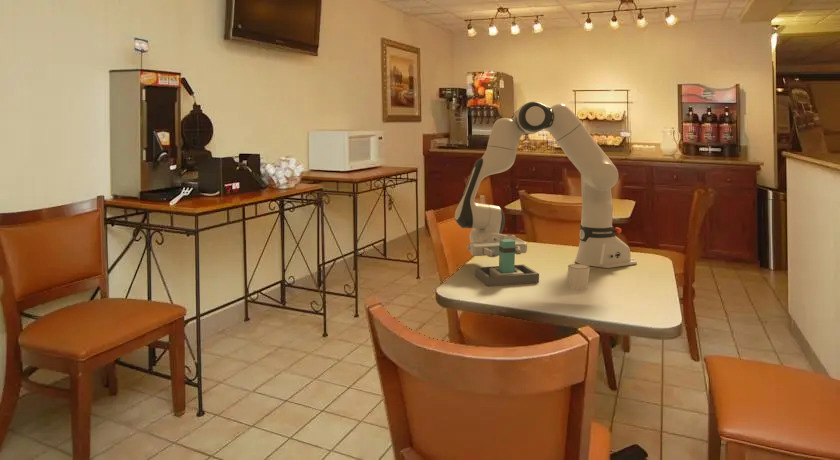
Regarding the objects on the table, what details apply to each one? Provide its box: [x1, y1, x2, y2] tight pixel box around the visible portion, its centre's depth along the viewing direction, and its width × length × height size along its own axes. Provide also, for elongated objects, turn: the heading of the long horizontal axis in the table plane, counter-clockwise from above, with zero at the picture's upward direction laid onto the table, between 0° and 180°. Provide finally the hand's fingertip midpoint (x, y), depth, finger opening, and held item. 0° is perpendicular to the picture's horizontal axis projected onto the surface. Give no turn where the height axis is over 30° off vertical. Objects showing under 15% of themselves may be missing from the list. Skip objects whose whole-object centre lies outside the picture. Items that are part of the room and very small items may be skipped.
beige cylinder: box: [567, 263, 591, 291], centre depth 181 cm, size 7×7×7 cm
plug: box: [498, 239, 516, 273], centre depth 190 cm, size 4×4×13 cm
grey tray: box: [474, 264, 540, 287], centre depth 191 cm, size 18×13×3 cm
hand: (506, 252), depth 191 cm, fingers open, 8 cm apart
